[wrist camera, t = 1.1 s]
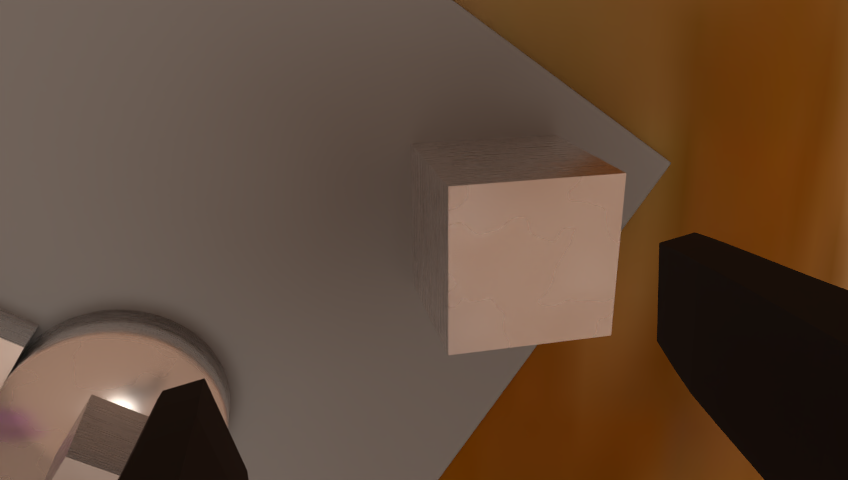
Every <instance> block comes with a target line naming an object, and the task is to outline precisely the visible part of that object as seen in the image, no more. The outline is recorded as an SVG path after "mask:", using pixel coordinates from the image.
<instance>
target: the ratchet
mask: <svg viewBox="0 0 848 480" xmlns="http://www.w3.org/2000/svg"><path fill="white" fill-rule="evenodd" d="M38 326H39V324H37V323H35V322H32V321H30V320H27V319H25V318H23V317H20V316H18V315H15V314H13V313H10V312H8V311H6V310H3V309H1V308H0V479H1V480H118V478H119V476H120V474H121V472H122V470H123V468H124V466H125V464H126V462H127V460H128V458H129V456H130V454H131V452H132V450H133V448H134V446H135V444H136V442H137V440H138V438H139V436H140V434H141V432H142V430H143V428H144V426H145V424H146V422H147V419H148V417H149V415H150V413H151V411H152V409H153V407H154V405H155V403H156V401H157V399H158V397H159V396H160V394H161V392H162V391H163V390H167V389H170V388H173V387H177V386H180V385H183V384H187V383H190V382H194V381H197V380H200V379H204V378H205V380H206V382H207V384H208V386H209V389H210V391H211V393H212V395H213V397H214V399H215V402H216V404H217V406H218V408H219V410H220V412H221V415H222V417H223V419H224V421H225V423H226V425H227V428H228V423H229V411H230V389H229V384H228V380H227V376H226V373H225V371H224V369H223V366H222V364H221V362H220V361H219V359H218V358H217V356H216V355H215V353H214V352H213V351H212V350H211V348H210V347H209V346H208V345H207V344H206V343H205V342H204V341H203V340H202V339H201V338H200V337H198V336H197V335H196V334H195V333H193V332H192V331H190V330H189V329H187V328H186V327H184V326H182V325H180V324H178V323H176V322H174V321H172V320H169V319H167V318H164V317H162V316H159V315H155V314H151V313H147V312H141V311H134V310H104V311H97V312H91V313H86V314H83V315H80V316H76V317H73V318H70V319H68V320H66V321H64V322H62V323H59V324H57V325H56V326H54V327H52V328H51V329H49V330H48V331H46V332H45V333H43V334H42V335H41V336H40V337H39V338H37V339H36V340H35V341H34V342H33V343H32V344H31V345H30V346H29V347H28V348H27V350H26V351H25V352H24V350H25V349H26V347H27V345H28V343H29V341H30V340H31V338H32V336H33V334H34V333H35V331H36V329H37V327H38ZM23 352H24V354H23ZM22 354H23V355H22ZM21 356H22V357H21ZM20 357H21V358H20Z"/></svg>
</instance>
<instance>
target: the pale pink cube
mask: <svg viewBox="0 0 848 480" xmlns="http://www.w3.org/2000/svg"><path fill="white" fill-rule="evenodd" d="M411 173H412V223H413V274H414V286H415V288H416V290H417V292H418V294H419V296H420V298H421V300H422V302H423V304H424V306H425V308H426V310H427V313H428V315H429V317H430V319H431V321H432V323H433V325H434V327H435V329H436V331H437V333H438V335H439V337H440V339H441V341H442V343H443V345H444V347H445V349H446V351H447V354H448V355H455V354H463V353H471V352H480V351H488V350H496V349H504V348H512V347H520V346H529V345H537V344H545V343H553V342H561V341H569V340H577V339H586V338H594V337H602V336H610V335H611V330H612V320H613V309H614V298H615V288H616V277H617V267H618V256H619V245H620V235H621V224H622V214H623V203H624V192H625V182H626V173H625V172H623V171H621V170H620V169H618V168H616V167H614V166H612V165H610V164H609V163H607V162H605V161H603V160H601V159H599V158H597V157H596V156H594V155H592V154H590V153H588V152H586V151H584V150H583V149H581V148H579V147H577V146H575V145H573V144H571V143H570V142H568V141H566V140H564V139H562V138H560V137H558V136H557V135H548V136H532V137H516V138H499V139H483V140H467V141H450V142H434V143H418V144H411Z"/></svg>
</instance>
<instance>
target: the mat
mask: <svg viewBox="0 0 848 480" xmlns="http://www.w3.org/2000/svg"><path fill="white" fill-rule="evenodd" d="M548 135H557V136H558V137H560V138H562V139H564V140H566V141H568V142H570V143H571V144H573V145H575V146H577V147H579V148H581V149H583V150H584V151H586V152H588V153H590V154H592V155H594V156H596V157H597V158H599V159H601V160H603V161H605V162H607V163H609V164H610V165H612V166H614V167H616V168H618V169H620V170H621V171H623V172H625V173H626V182H625V192H624V203H623V214H622V224H621V230H622V229H623V228H624V226H625V225H626V224H627V222H628V221H629V220H630V218H631V217H632V216H633V214H634V213H635V211H636V210H637V209H638V207H639V206H640V205H641V203H642V202H643V201H644V199H645V198H646V197H647V195H648V194H649V192H650V191H651V190H652V188H653V187H654V186H655V184H656V183H657V182H658V180H659V179H660V177H661V176H662V175H663V173H664V172H665V171H666V169H667V168H668V167H669V165H670V164H671V162H669V161H668V160H667V159H665V158H664V157H663V156H661V155H660V154H658V153H657V152H656V151H654V150H653V149H652V148H650V147H649V146H648V145H646V144H645V143H644V142H642V141H641V140H640V139H638V138H637V137H636V136H634V135H633V134H632V133H630V132H629V131H628V130H626V129H625V128H624V127H622V126H621V125H619V124H618V123H617V122H615V121H614V120H613V119H611V118H610V117H609V116H607V115H606V114H605V113H603V112H602V111H601V110H599V109H598V108H597V107H595V106H594V105H593V104H591V103H590V102H589V101H587V100H586V99H585V98H583V97H582V96H581V95H579V94H578V93H576V92H575V91H574V90H572V89H571V88H570V87H568V86H567V85H566V84H564V83H563V82H562V81H560V80H559V79H558V78H556V77H555V76H554V75H552V74H551V73H550V72H548V71H547V70H546V69H544V68H543V67H542V66H540V65H539V64H537V63H536V62H535V61H533V60H532V59H531V58H529V57H528V56H527V55H525V54H524V53H523V52H521V51H520V50H519V49H517V48H516V47H515V46H513V45H512V44H511V43H509V42H508V41H507V40H505V39H504V38H503V37H501V36H500V35H499V34H497V33H496V32H494V31H493V30H492V29H490V28H489V27H488V26H486V25H485V24H484V23H482V22H481V21H480V20H478V19H477V18H476V17H474V16H473V15H472V14H470V13H469V12H468V11H466V10H465V9H464V8H462V7H461V6H460V5H458V4H457V3H455V2H454V1H453V0H0V308H1V309H3V310H6V311H8V312H10V313H13V314H15V315H18V316H20V317H23V318H25V319H27V320H30V321H32V322H35V323H37V324H39V326H38V327H37V329H36V331H35V333H34V334H33V336H32V338H31V340H30V341H29V343H28V345H27V347H26V349H25V350H24V352H25V351H26V350H27V348H28V347H29V346H30V345H31V344H32V343H33V342H34V341H35V340H36V339H37V338H39V337H40V336H41V335H42V334H43V333H45V332H46V331H48V330H49V329H51V328H52V327H54V326H56V325H57V324H59V323H62V322H64V321H66V320H68V319H70V318H73V317H76V316H80V315H83V314H86V313H91V312H97V311H104V310H134V311H141V312H147V313H151V314H155V315H159V316H162V317H164V318H167V319H169V320H172V321H174V322H176V323H178V324H180V325H182V326H184V327H186V328H187V329H189V330H190V331H192V332H193V333H195V334H196V335H197V336H198V337H200V338H201V339H202V340H203V341H204V342H205V343H206V344H207V345H208V346H209V347H210V348H211V350H212V351H213V352H214V353H215V355H216V356H217V358H218V359H219V361H220V362H221V364H222V366H223V369H224V371H225V373H226V376H227V380H228V384H229V389H230V411H229V423H228V430H229V432H230V434H231V436H232V438H233V441H234V443H235V445H236V447H237V449H238V451H239V454H240V456H241V458H242V460H243V462H244V465H245V467H246V469H247V472H248V479H249V480H438V479H439V478H440V476H441V475H442V474H443V472H444V471H445V469H446V468H447V467H448V465H449V464H450V463H451V461H452V460H453V459H454V457H455V456H456V455H457V453H458V452H459V450H460V449H461V448H462V446H463V445H464V444H465V442H466V441H467V440H468V438H469V437H470V436H471V434H472V433H473V431H474V430H475V429H476V427H477V426H478V425H479V423H480V422H481V421H482V419H483V418H484V417H485V415H486V414H487V412H488V411H489V410H490V408H491V407H492V406H493V404H494V403H495V402H496V400H497V399H498V398H499V396H500V395H501V393H502V392H503V391H504V389H505V388H506V387H507V385H508V384H509V383H510V381H511V380H512V378H513V377H514V376H515V374H516V373H517V372H518V370H519V369H520V368H521V366H522V365H523V364H524V362H525V361H526V359H527V358H528V357H529V355H530V354H531V353H532V351H533V350H534V349H535V347H536V346H537V345H538V344H537V345H529V346H520V347H512V348H504V349H496V350H488V351H480V352H471V353H463V354H455V355H448V354H447V351H446V349H445V347H444V345H443V343H442V341H441V339H440V337H439V335H438V333H437V331H436V329H435V327H434V325H433V323H432V321H431V319H430V317H429V315H428V313H427V310H426V308H425V306H424V304H423V302H422V300H421V298H420V296H419V294H418V292H417V290H416V288H415V286H414V274H413V223H412V173H411V144H418V143H434V142H450V141H467V140H483V139H499V138H516V137H532V136H548ZM24 352H23V354H24ZM23 354H22V355H23ZM21 357H22V356H21ZM21 357H20V358H21ZM0 480H1V479H0Z"/></svg>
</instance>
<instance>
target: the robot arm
mask: <svg viewBox="0 0 848 480" xmlns="http://www.w3.org/2000/svg"><path fill="white" fill-rule="evenodd" d="M657 342H658V343H659V345H660V346H661V348H662V350H663V351H664V353H665V354H666V356H667V358H668V359H669V361H670V362H671V364H672V366H673V367H674V369H675V370H676V372H677V373H678V375H679V376H680V378H681V379H682V381H683V382H684V384H685V385H686V387H687V388H688V390H689V391H690V393H691V394H692V395H693V396H694V397H695V399H696V400H697V401H698V402H699V404H700V405H701V406H702V407H703V408H704V409H705V411H706V412H707V413H708V414H709V415H710V417H711V418H712V419H713V420H714V421H715V423H716V424H717V425H718V426H719V427H720V428H721V430H722V431H723V432H724V433H725V434H726V435H727V437H728V438H729V439H730V440H731V441H732V442H733V444H734V445H735V446H736V447H737V448H738V449H739V451H740V452H741V453H742V454H743V455H744V456H745V458H746V459H747V460H748V461H749V462H750V463H751V464H752V466H753V467H754V468H755V469H756V470H757V471H758V473H759V474H760V475H761V476H762V477H763V478H764V480H848V290H846V289H843V288H840V287H837V286H835V285H832V284H829V283H827V282H824V281H821V280H819V279H816V278H814V277H811V276H808V275H806V274H803V273H800V272H798V271H795V270H793V269H790V268H788V267H785V266H783V265H780V264H777V263H775V262H772V261H770V260H767V259H765V258H762V257H760V256H757V255H755V254H752V253H750V252H747V251H744V250H742V249H739V248H737V247H734V246H731V245H729V244H726V243H724V242H721V241H718V240H715V239H713V238H710V237H707V236H704V235H701V234H698V233H691V234H688V235H685V236H681V237H678V238H675V239H671V240H668V241H664V242H661V243H659V283H658V324H657ZM118 480H249V479H248V472H247V469H246V467H245V465H244V462H243V460H242V458H241V456H240V454H239V451H238V449H237V447H236V445H235V443H234V441H233V438H232V436H231V434H230V432H229V430H228V428H227V425H226V423H225V421H224V419H223V417H222V415H221V412H220V410H219V408H218V406H217V404H216V402H215V399H214V397H213V395H212V393H211V391H210V389H209V386H208V384H207V382H206V380H205V378H204V379H200V380H197V381H194V382H190V383H187V384H183V385H180V386H177V387H173V388H170V389H167V390H163V391H162V392H161V394H160V396H159V397H158V399H157V401H156V403H155V405H154V407H153V409H152V411H151V413H150V415H149V417H148V419H147V422H146V424H145V426H144V428H143V430H142V432H141V434H140V436H139V438H138V440H137V442H136V444H135V446H134V448H133V450H132V452H131V454H130V456H129V458H128V460H127V462H126V464H125V466H124V468H123V470H122V472H121V474H120V476H119V478H118Z"/></svg>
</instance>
